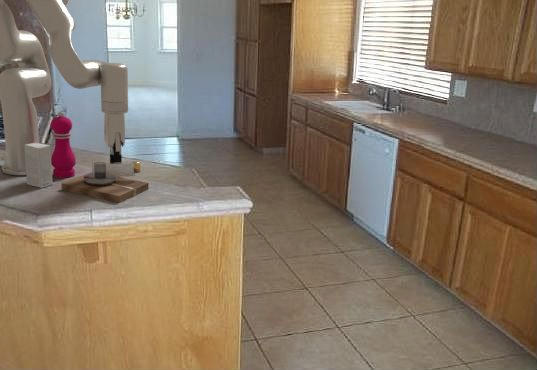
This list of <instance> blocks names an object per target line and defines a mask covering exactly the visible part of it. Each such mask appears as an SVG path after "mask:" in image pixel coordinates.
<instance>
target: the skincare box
mask: <svg viewBox="0 0 537 370" xmlns="http://www.w3.org/2000/svg"><path fill="white" fill-rule="evenodd" d="M24 147H25V161H26V175H25V176H26V185H27V186H28V185H29V186H33V187H37V188H41V189H43V188H46V187H50V186H53V168H52V167H53V166H52V164H51V157H52V152H51V145H50V144H44V143H40V142H39V143H31V144H26V145H24Z"/></svg>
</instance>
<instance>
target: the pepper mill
mask: <svg viewBox="0 0 537 370" xmlns="http://www.w3.org/2000/svg"><path fill="white" fill-rule="evenodd" d="M50 128H51V130H52V131H53V133H52V134H53V138H54V141H55V142H54V150H53V152H52V153H51V166H52V167H53V168H52V176H53V177H56V178H61V179H63V178H65V179H66V178H72V177H74V176H75V173H76V172H75V168H74V166H76V164H77V161H76V156H75V154H74V151H73V150H72V147H71V142H70V141H71V139H70V138H71V137H72V135H71V134H72V132H71V130H72V129H73V123H72V120H71V119H70V118H68V117H66V116H65V112H63V111H58V113H57V116H56V117H54V118H53V119H52V120H51V121H50Z"/></svg>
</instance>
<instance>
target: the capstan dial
mask: <svg viewBox="0 0 537 370" xmlns="http://www.w3.org/2000/svg"><path fill="white" fill-rule="evenodd" d="M91 164H92V166H91V168H92V169H91V170H92V171H91V172H92V173H91V172H88V173H89V174H88V173H85V174H86V175H85V174H84V175H85V176H84V183H85V184H87V185H91V186H107V185H111V184H114V183H115V182H116V177H123V178H125V177H135V176H136V174H139V173H141V161H139V160H136V161H122V162H112V163H110V162H104V161H103V162H102V161H96V162H92V163H91Z"/></svg>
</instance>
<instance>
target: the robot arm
mask: <svg viewBox="0 0 537 370" xmlns="http://www.w3.org/2000/svg"><path fill="white" fill-rule="evenodd" d="M25 1H26V3H27V5H28V6H29V8H30V10H31V11H32V13H33V14H34V16H35V17H36V18H37V20H38V23H40V25H41V27H42V28H43V30H44V31H45V33H46V35H47V37H48V45H49V46H48V47H49V52H50V56H51V60H52V61H53V64H54V66H55V68H57V71H58V72H59V73H60V76H62V78H63V79H64V81H66V83H67V84H68V85H69V86H71V87H72V88H74V89H79V90H80V89H81V90H82V89H83V90H84V89H88V88H92V87H98V86H100V103H101V105H100V107H101V108H100V109H101V113H103V114H104V115H103V116H104V117H103V118H104V119H103V123H104V124H103V131H104V132H103V140H104V141H103V142H104V143H105V145H106V146H107V148H109V151H110V152H109V163H112V162H123V161H122V159H123V158H122V157H123V156H122V147H124V146H126V145H125V144H126V121H125V114H127V113H129V83H128V82H129V79H128V77H129V74H128V72H129V71H128V70H129V69H128V67H127V66H126V65H125V64H124V63H119V62H106V61H103V60H102V61H101V60H96V59H89V60H87V59H86V60H82V59H81V58H80V57H79V55H78V54H77V52H76V50H75V48H74V46H73V44H72V39H71V37H72V32H73V31H75V29H76V25H77V24H76V21H75V19H74V18H73V16H72V14H71V13H70V11H69V10H68V8H67V7H66V6H67V4H68V3H69V0H25ZM0 63H1V64H4V65H5V64H7V65H8V64H9V65H10V64H11V65H12V64H18V67H13V68H8V69H5V70H4V71H2V72H1V73H0V104H1V110H2V120H3V131H4V141H5V142H4V144H5V152H3V153H2V155H0V161H3V162H4V165H2V167H1V171H2V173H4V174H6V175H10V176H11V175H13V176H27V175H26V161H25V147H24V145H26V144H31V143H40V138H39V137H40V135H39V120H38V112H37V108H36V106H35V103H34V102H33V99H34V98H38V97H42V96H46V94H48V93H49V92H50V90H51V88H52V76H51V73H50V68H49V66H48V62H47V58H46V55H45V52H44V50H43V46H42V44H41V41H40V40H39V38H38V37H37V36H36V35H35V34H33V33H32V32H31V31H27V30H23V29H21V30H19V29H18V27H17V24H16V21H15V17H14V13H12V10H11V9H10V6H8V4H7V3H6V1H4V0H0Z"/></svg>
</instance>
